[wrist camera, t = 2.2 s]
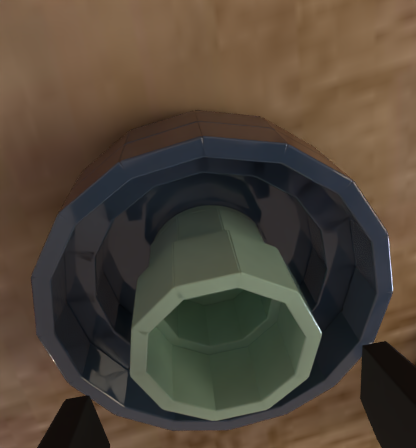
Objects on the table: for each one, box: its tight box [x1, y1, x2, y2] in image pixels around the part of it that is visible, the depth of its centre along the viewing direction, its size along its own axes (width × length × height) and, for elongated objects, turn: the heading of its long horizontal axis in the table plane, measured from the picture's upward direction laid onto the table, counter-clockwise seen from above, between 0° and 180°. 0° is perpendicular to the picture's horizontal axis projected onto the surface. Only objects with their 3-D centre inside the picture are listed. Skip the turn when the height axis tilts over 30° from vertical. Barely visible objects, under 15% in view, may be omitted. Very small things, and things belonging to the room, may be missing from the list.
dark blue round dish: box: [31, 110, 393, 431], centre depth 15 cm, size 12×12×4 cm
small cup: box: [130, 205, 322, 421], centre depth 14 cm, size 6×6×6 cm
